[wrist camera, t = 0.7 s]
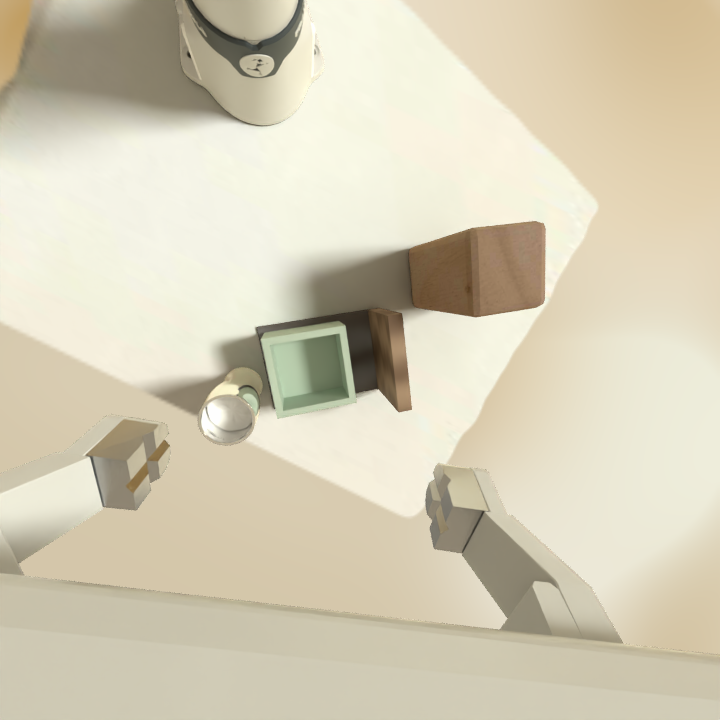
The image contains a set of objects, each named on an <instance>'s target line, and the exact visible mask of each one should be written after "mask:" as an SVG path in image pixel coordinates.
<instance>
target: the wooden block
mask: <svg viewBox="0 0 720 720" xmlns="http://www.w3.org/2000/svg"><path fill="white" fill-rule="evenodd" d="M409 263H410V275H411V286H412V298H413V304H414V306H415V307H417V308H422V309H428V310H434V311H440V312H446V313H453V314H459V315H465V316H471V317H481V316H487V315H493V314H500V313H506V312H512V311H518V310H525V309H531V308H536V307H538V306H540V305H542V304H543V303H544V300H545V226H544V224H543V223H540V222H537V221H532V222H523V223H514V224H505V225H496V226H486V227H477V228H471V229H468V230H465V231H462V232H459V233H456V234H452V235H449V236H446V237H443V238H440V239H437V240H434V241H431V242H428V243H424V244H421V245H418V246H415V247H413V248H411V249H410V251H409Z"/></svg>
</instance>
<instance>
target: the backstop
mask: <svg viewBox="0 0 720 720" xmlns="http://www.w3.org/2000/svg"><path fill="white" fill-rule="evenodd" d="M334 321H340V322H341V323H342V324H344V325H345V326H346V333H347V340H348V347H349V354H350V360H351V367H352V374H353V381H354V388H355V393H358V392H363V391H368V390H373V389H379V390H380V391H381V393H382V394H383V395H384V396H385V397H386V398H387V399H388V401H389V402H390V403H391V404H392V405H393V406H394V407H395V409H396V410H397V411H398V412H403V411H408V410H412V406H411V396H410V386H409V376H408V367H407V357H406V347H405V337H404V328H403V318H402V313H398V312H394V311H390V310H385V309H381V308H376V309H369V310H363V311H356V312H350V313H344V314H337V315H331V316H324V317H318V318H312V319H305V320H299V321H292V322H286V323H280V324H273V325H267V326H260V327H257V331H258V335H259V340H260V345H261V349H262V354H263V359H264V364H265V368H266V373H267V378H268V383H269V387H270V392H271V397H272V401H273V406H274V409H275V404H274V400H273V395H272V390H271V385H270V381H269V376H268V371H267V366H266V362H265V357H264V352H263V347H262V343H261V338H262V336H263V334H264V333H265V332H271V331H278V330H284V329H290V328H296V327H303V326H309V325H315V324H321V323H328V322H334Z"/></svg>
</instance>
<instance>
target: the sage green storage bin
mask: <svg viewBox="0 0 720 720" xmlns="http://www.w3.org/2000/svg"><path fill="white" fill-rule="evenodd" d="M261 343H262V347H263V352H264V357H265V362H266V366H267V371H268V376H269V381H270V385H271V390H272V395H273V400H274V404H275V409H276V414H277V419H279V418H284V417H289V416H294V415H299V414H303V413H308V412H313V411H318V410H323V409H328V408H333V407H338V406H343V405H347V404H352V403H357V402H356V395H355V388H354V381H353V374H352V367H351V360H350V354H349V347H348V340H347V333H346V326H345V325H344V324H342V323H341V322H340V321H334V322H328V323H321V324H315V325H309V326H303V327H296V328H290V329H284V330H278V331H271V332H265V333H264V334H263V336H262V338H261Z"/></svg>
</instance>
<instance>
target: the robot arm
mask: <svg viewBox="0 0 720 720" xmlns="http://www.w3.org/2000/svg"><path fill="white" fill-rule="evenodd" d="M175 5H176V10H177V13H178V17H179V38H180V60H181V66H182V69H183V72H184V73H185V75H186V76H187V77H189V78H190V79H191V80H193V81H194V82H196V83H197V84H199V85H201V86H203V87H204V88H205V89H207V90H208V91H209V93H210V94H211V95H212V96H213V97H214V98H215V100H216V101H217V102H218V103H219V104H220V105H221V106H222V107H223V108H224V109H225V110H226V111H227V112H229V113H230V114H231V115H233V116H234V117H236V118H238V119H240V120H242V121H244V122H247V123H250V124H255V125H272V124H276V123H279V122H282V121H284V120H286V119H287V118H289V117H290V116H291V115H293V114H294V113H295V112H296V111H297V109H298V108H299V107H300V105H301V104H302V102H303V100H304V98H305V96H306V93H307V91H308V89H309V87H310V85H311V84H312V83H313V82H314V81H315V80H316V79H317V78H318V77H319V76H320V75H321V74H322V73H323V71H324V57H323V54H322V51H321V47H320V44H319V41H318V37H317V34H316V31H315V27H314V24H313V21H312V17H311V14H310V11H309V7H308V4H307V1H306V0H175ZM314 53H315V54H316V55H314ZM189 54H190V55H191V58H189V57H188V55H189ZM168 434H169V433H168V426H167V424H165V423H162V422H155V421H150V420H144V419H138V418H133V417H124V416H119V415H113V414H111V415H108V416H105V417H104V418H103V419H102V420H101V421H99V422H98V423H97V424H96V425H95V426H93V427H92V428H91V429H90V430H89V431H88V432H86V433H85V434H84V435H83V436H82V437H81V438H79V439H78V440H77V441H76V442H75V443H73V444H72V445H71V446H70V447H69V448H68V449H67V450H65V451H64V452H63V453H59V452H56V453H53V454H50V455H48V456H45V457H42V458H40V459H37V460H34V461H32V462H29V463H26V464H24V465H21V466H18V467H16V468H13V469H11V470H8V471H5V472H3V473H0V720H720V655H718V654H709V653H700V652H691V651H682V650H674V649H665V648H655V647H647V646H638V645H630V644H623V642H622V640H621V638H620V636H619V635H618V633H617V631H616V629H615V628H614V626H613V624H612V622H611V621H610V619H609V617H608V616H607V614H606V612H605V610H604V608H603V607H602V605H601V603H600V602H599V600H598V598H597V596H596V595H595V593H594V591H593V589H592V588H591V586H589V584H587V583H586V582H585V581H584V580H583V579H582V578H581V577H580V576H579V575H578V574H576V573H575V572H574V571H573V570H572V569H571V568H570V567H569V566H568V565H566V564H565V563H564V562H563V561H562V560H561V559H560V558H559V557H558V556H556V555H555V554H554V553H553V552H552V551H551V550H550V549H549V548H548V547H547V546H546V545H545V544H543V543H542V542H541V541H540V540H539V539H538V538H537V537H536V536H535V535H534V534H532V533H531V532H530V531H529V530H528V529H527V528H526V527H525V526H524V525H523V524H521V523H520V522H519V521H518V520H517V519H516V518H515V517H514V516H513V515H508V514H507V512H506V510H505V508H504V506H503V503H502V501H501V499H500V496H499V494H498V492H497V490H496V487H495V485H494V483H493V481H492V479H491V476H490V474H489V472H488V471H487V470H486V469H478V468H468V467H461V466H454V465H447V464H440V463H438V464H437V465H436V467H435V469H434V472H433V474H434V478H435V479H434V480H433V481H431V482H430V483H429V485H428V488H427V491H426V499H425V501H426V510H427V515H428V516H429V517H430V518H431V519H432V523H431V526H430V532H431V537H432V542H433V547H434V549H437V550H444V551H450V552H456V553H462V556H463V557H464V558H465V560H466V561H467V563H468V564H469V565H470V567H471V568H472V570H473V571H474V572H475V574H476V575H477V577H478V578H479V579H480V581H481V582H482V584H483V585H484V586H485V588H486V589H487V591H488V592H489V593H490V595H491V596H492V597H493V599H494V600H495V602H496V603H497V604H498V606H499V607H500V609H501V610H502V611H503V613H504V614H505V616H506V617H507V618H508V619H507V620H506V622H505V624H504V625H503V626H502V627H501V629H500V630H498V629H489V628H480V627H470V626H463V625H454V624H445V623H436V622H427V621H419V620H410V619H401V618H392V617H383V616H374V615H366V614H357V613H348V612H339V611H330V610H321V609H313V608H304V607H295V606H286V605H277V604H268V603H259V602H251V601H240V600H233V599H223V598H215V597H206V596H198V595H189V594H180V593H171V592H162V591H154V590H145V589H136V588H127V587H118V586H110V585H100V584H92V583H83V582H75V581H65V580H57V579H48V578H39V577H31V576H24V574H23V572H22V570H21V568H20V566H19V564H18V563H20V562H21V561H23V560H25V559H26V558H28V557H29V556H31V555H32V554H34V553H35V552H37V551H38V550H40V549H42V548H43V547H45V546H46V545H48V544H49V543H51V542H53V541H54V540H56V539H57V538H59V537H60V536H62V535H63V534H65V533H67V532H68V531H70V530H71V529H73V528H74V527H76V526H77V525H79V524H81V523H82V522H84V521H85V520H87V519H88V518H90V517H91V516H93V515H94V514H96V513H98V512H99V511H100V510H102V509H103V507H107V508H117V509H128V510H137V509H138V508H139V506H140V505H141V503H142V502H143V501H144V499H145V498H146V497H147V495H148V494H149V492H150V491H151V487H150V483H151V482H153V481H155V480H157V479H159V478H160V477H161V476H162V474H163V473H164V471H165V470H166V468H167V465H168V463H169V460H170V453H171V452H170V445H169V444H168V443H167V442H166V441H165V438H166V437H167V435H168Z"/></svg>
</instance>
